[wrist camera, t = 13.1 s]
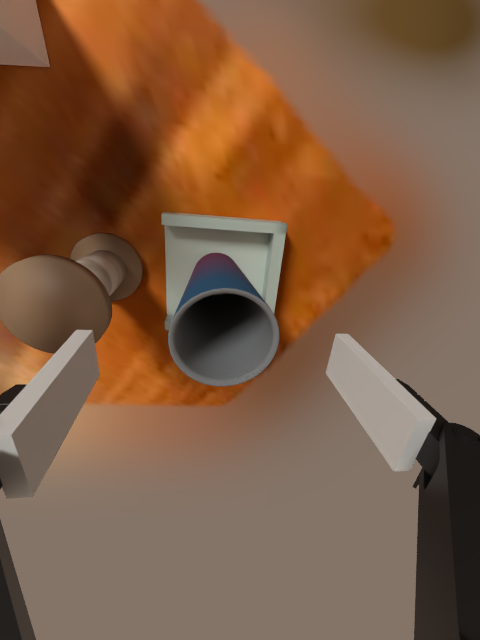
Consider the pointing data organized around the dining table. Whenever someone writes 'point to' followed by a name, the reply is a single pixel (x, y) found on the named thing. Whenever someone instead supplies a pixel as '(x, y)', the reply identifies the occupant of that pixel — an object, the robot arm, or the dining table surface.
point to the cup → (222, 325)
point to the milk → (21, 34)
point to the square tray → (222, 251)
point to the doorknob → (68, 291)
